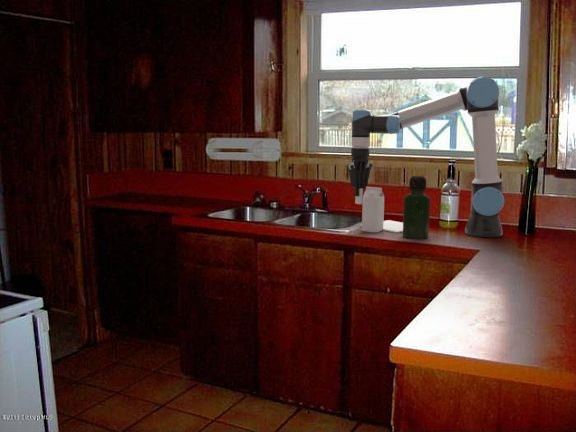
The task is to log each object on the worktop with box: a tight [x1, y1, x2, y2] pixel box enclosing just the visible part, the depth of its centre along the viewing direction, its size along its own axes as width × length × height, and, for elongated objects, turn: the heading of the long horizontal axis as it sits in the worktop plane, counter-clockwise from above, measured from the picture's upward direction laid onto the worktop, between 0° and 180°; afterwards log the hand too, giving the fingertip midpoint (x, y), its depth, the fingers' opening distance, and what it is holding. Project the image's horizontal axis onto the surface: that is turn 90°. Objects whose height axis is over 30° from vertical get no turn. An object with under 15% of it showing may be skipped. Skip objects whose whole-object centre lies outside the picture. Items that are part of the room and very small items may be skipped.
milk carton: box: [361, 186, 385, 233], centre depth 269 cm, size 7×7×19 cm
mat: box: [359, 219, 403, 234], centre depth 280 cm, size 22×20×1 cm
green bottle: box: [402, 175, 431, 240], centre depth 256 cm, size 10×10×25 cm
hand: (358, 203), depth 263 cm, fingers closed
